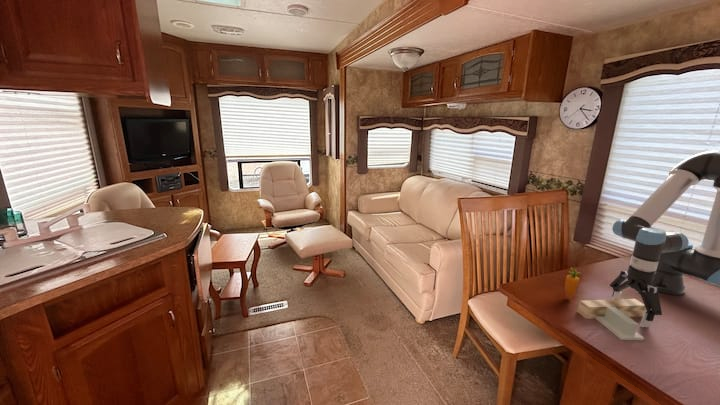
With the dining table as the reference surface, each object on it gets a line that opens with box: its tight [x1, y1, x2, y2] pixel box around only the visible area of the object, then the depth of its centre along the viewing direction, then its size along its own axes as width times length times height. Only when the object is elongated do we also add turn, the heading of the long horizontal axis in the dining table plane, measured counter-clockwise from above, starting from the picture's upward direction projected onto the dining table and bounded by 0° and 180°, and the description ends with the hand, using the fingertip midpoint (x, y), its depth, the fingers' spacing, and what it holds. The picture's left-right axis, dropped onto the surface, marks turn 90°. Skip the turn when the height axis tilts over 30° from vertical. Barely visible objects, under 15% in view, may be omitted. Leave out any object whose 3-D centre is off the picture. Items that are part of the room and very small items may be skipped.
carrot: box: [564, 267, 581, 300], centre depth 127 cm, size 5×5×15 cm
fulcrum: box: [595, 307, 645, 341], centre depth 109 cm, size 8×12×6 cm, turn 179°
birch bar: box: [577, 298, 646, 320], centre depth 118 cm, size 24×4×6 cm, turn 93°
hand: (628, 315), depth 118 cm, fingers open, 13 cm apart
